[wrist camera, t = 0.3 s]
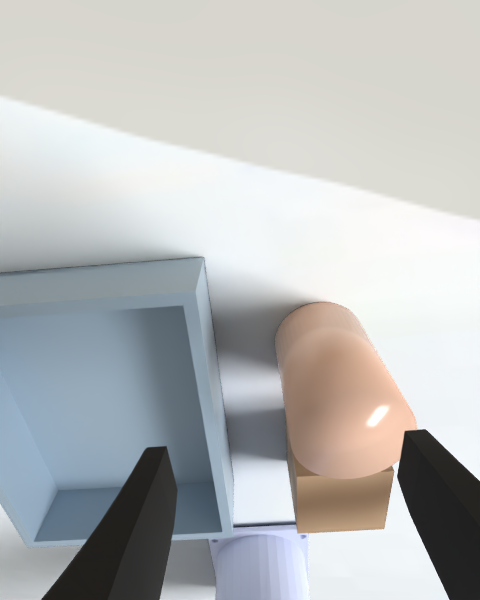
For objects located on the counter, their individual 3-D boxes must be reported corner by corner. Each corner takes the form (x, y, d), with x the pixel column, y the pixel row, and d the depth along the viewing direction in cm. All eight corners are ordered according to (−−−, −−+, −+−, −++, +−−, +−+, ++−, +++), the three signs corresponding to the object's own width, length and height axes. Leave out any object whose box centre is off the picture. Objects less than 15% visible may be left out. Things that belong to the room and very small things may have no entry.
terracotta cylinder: (359, 372, 22) (407, 475, 15) (276, 377, 22) (291, 482, 16) (365, 298, 19) (425, 384, 13) (273, 305, 20) (289, 394, 13)
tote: (233, 479, 26) (233, 537, 23) (55, 489, 27) (27, 547, 23) (203, 257, 18) (195, 291, 15) (-48, 276, 19) (-116, 314, 15)
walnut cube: (358, 455, 25) (384, 528, 21) (286, 460, 25) (297, 533, 21) (363, 401, 23) (394, 471, 18) (285, 407, 23) (296, 476, 19)
